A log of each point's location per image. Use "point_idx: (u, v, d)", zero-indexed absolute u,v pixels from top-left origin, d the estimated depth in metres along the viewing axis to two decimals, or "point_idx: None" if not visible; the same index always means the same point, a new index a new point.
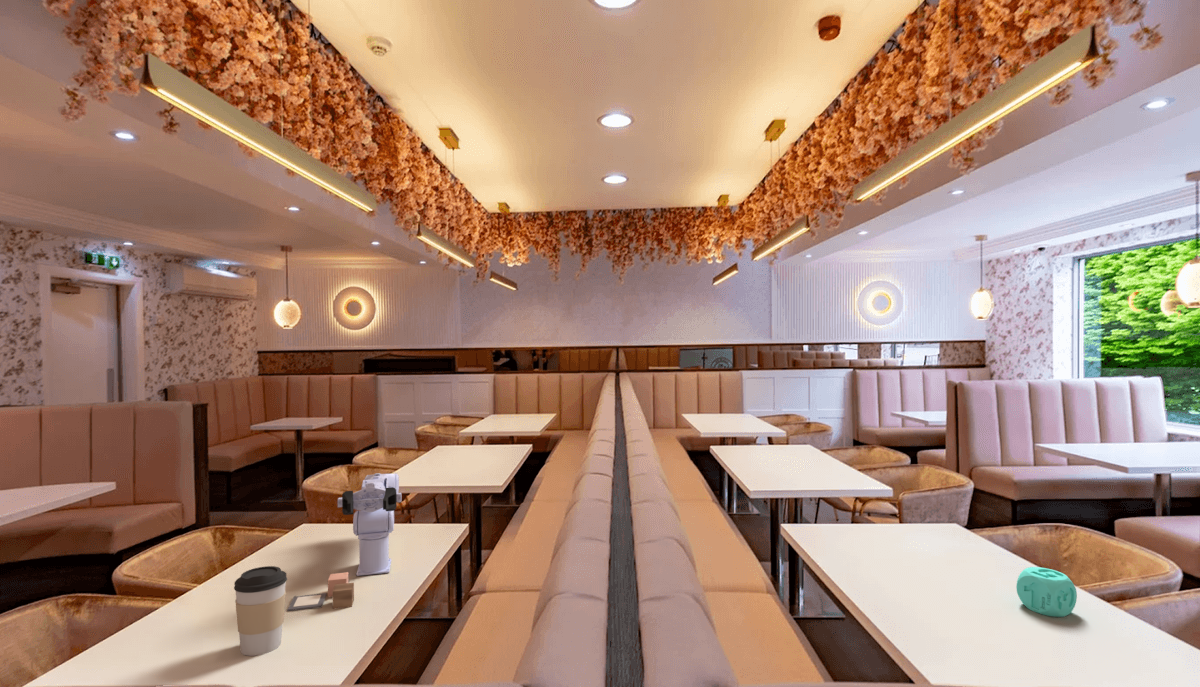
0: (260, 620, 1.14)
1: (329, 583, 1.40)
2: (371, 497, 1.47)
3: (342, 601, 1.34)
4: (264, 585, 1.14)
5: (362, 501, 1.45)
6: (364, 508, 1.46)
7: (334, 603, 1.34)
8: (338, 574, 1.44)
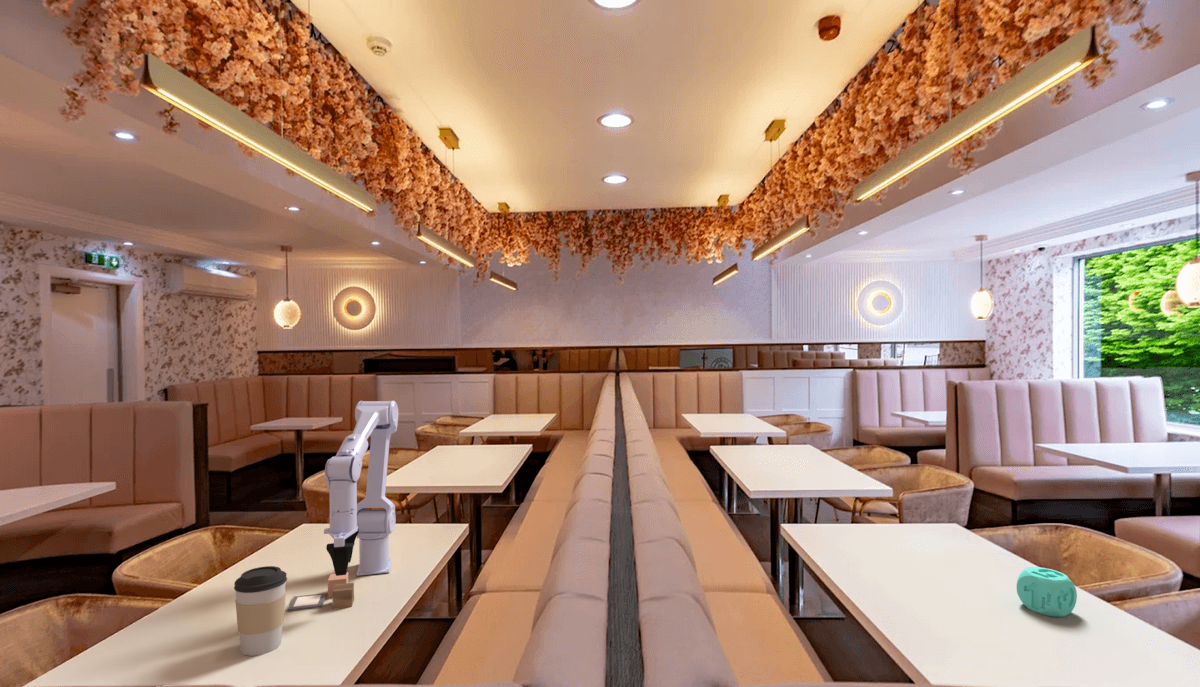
0: (260, 620, 1.14)
1: (329, 583, 1.40)
2: None
3: (342, 601, 1.34)
4: (264, 585, 1.14)
5: None
6: None
7: (334, 603, 1.34)
8: None
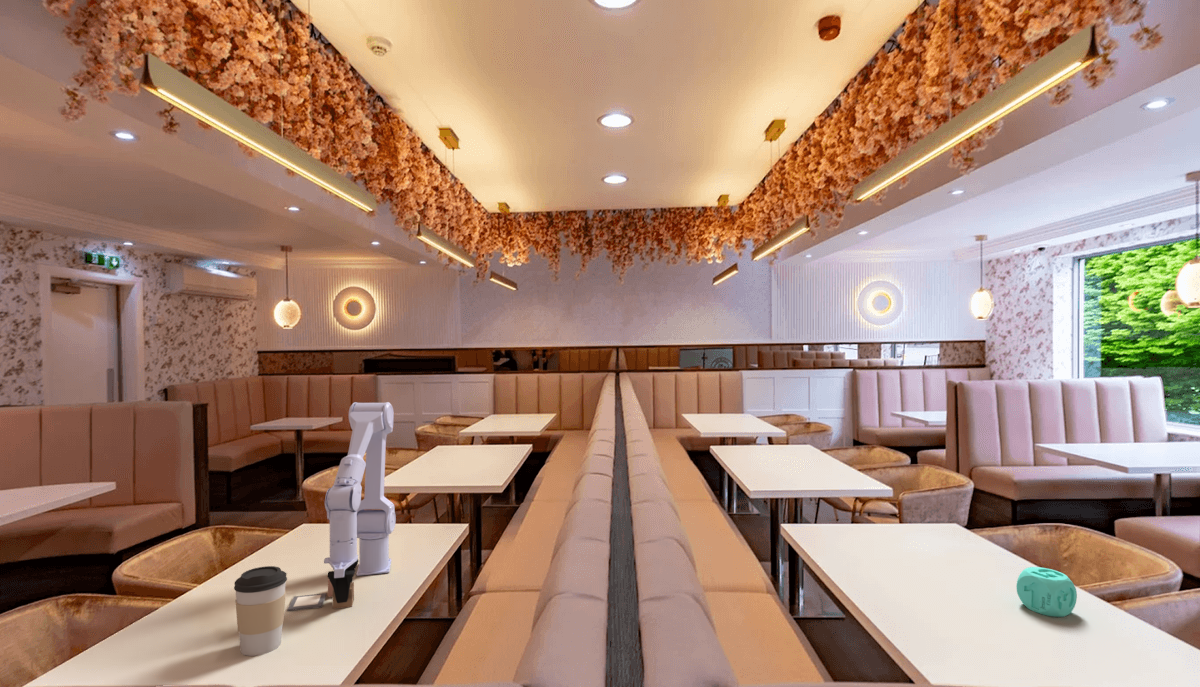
0: (260, 620, 1.14)
1: (329, 583, 1.40)
2: None
3: None
4: (264, 585, 1.14)
5: None
6: None
7: (334, 603, 1.34)
8: None
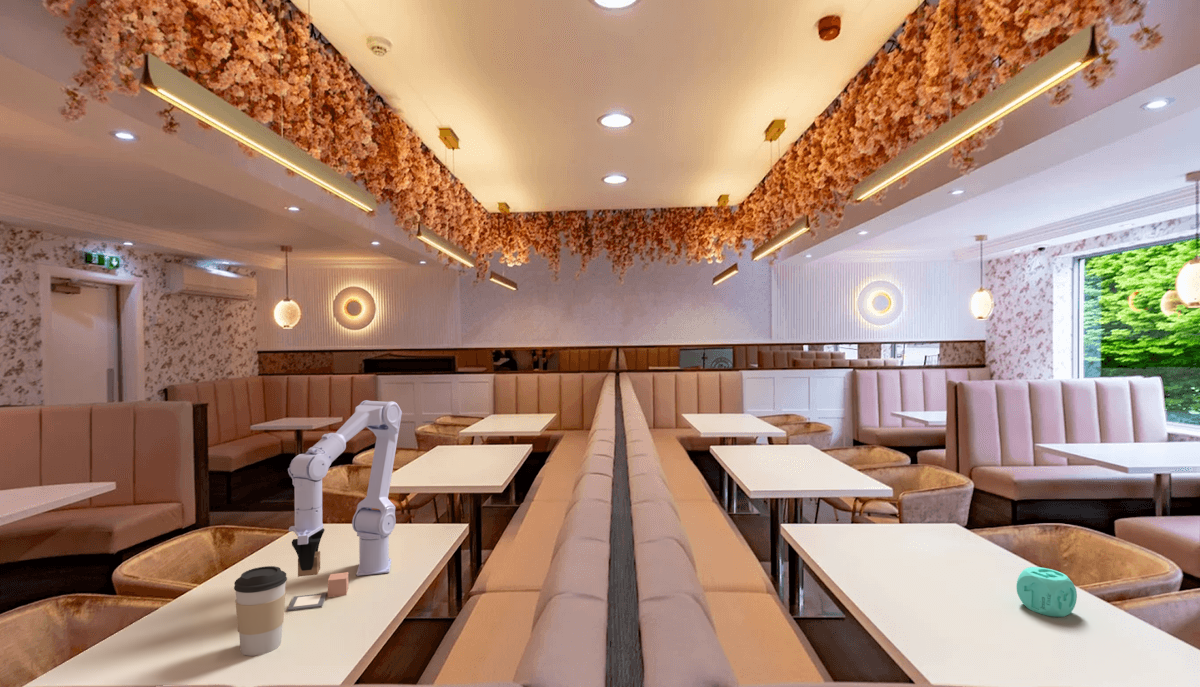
0: (260, 620, 1.14)
1: (329, 583, 1.40)
2: None
3: None
4: (264, 585, 1.14)
5: None
6: None
7: (299, 570, 1.34)
8: (338, 574, 1.44)
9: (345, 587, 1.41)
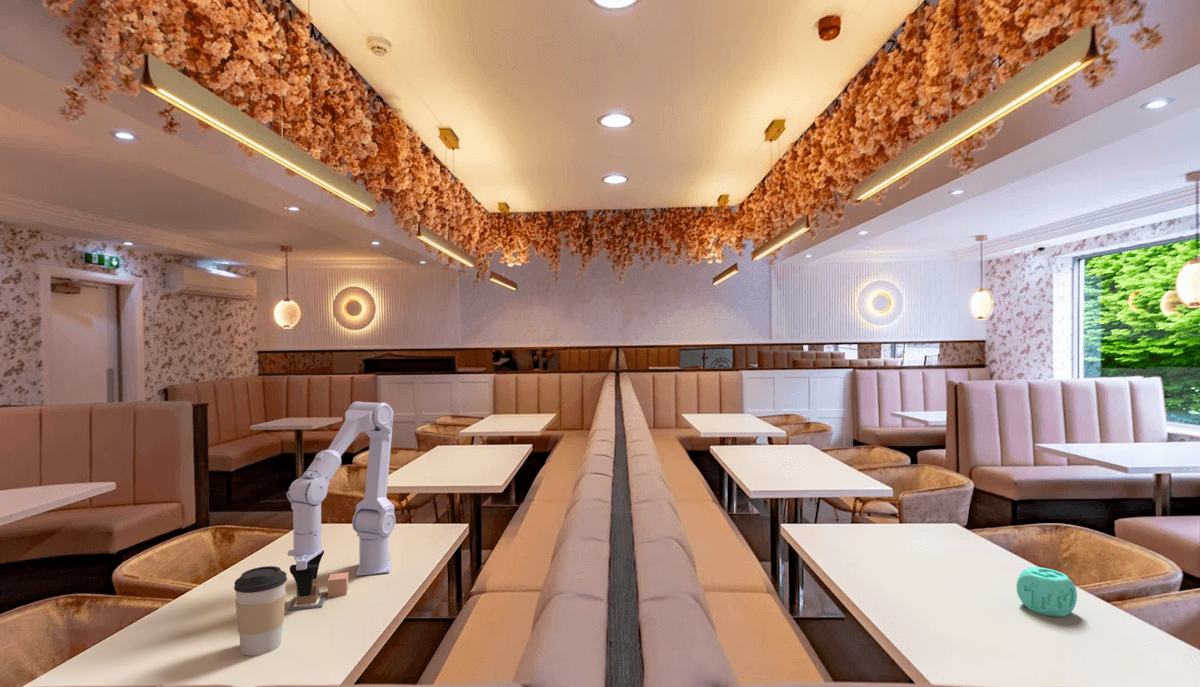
0: (260, 620, 1.14)
1: (329, 583, 1.40)
2: None
3: (306, 597, 1.35)
4: (264, 585, 1.14)
5: None
6: None
7: (298, 599, 1.35)
8: (338, 574, 1.44)
9: (345, 587, 1.41)
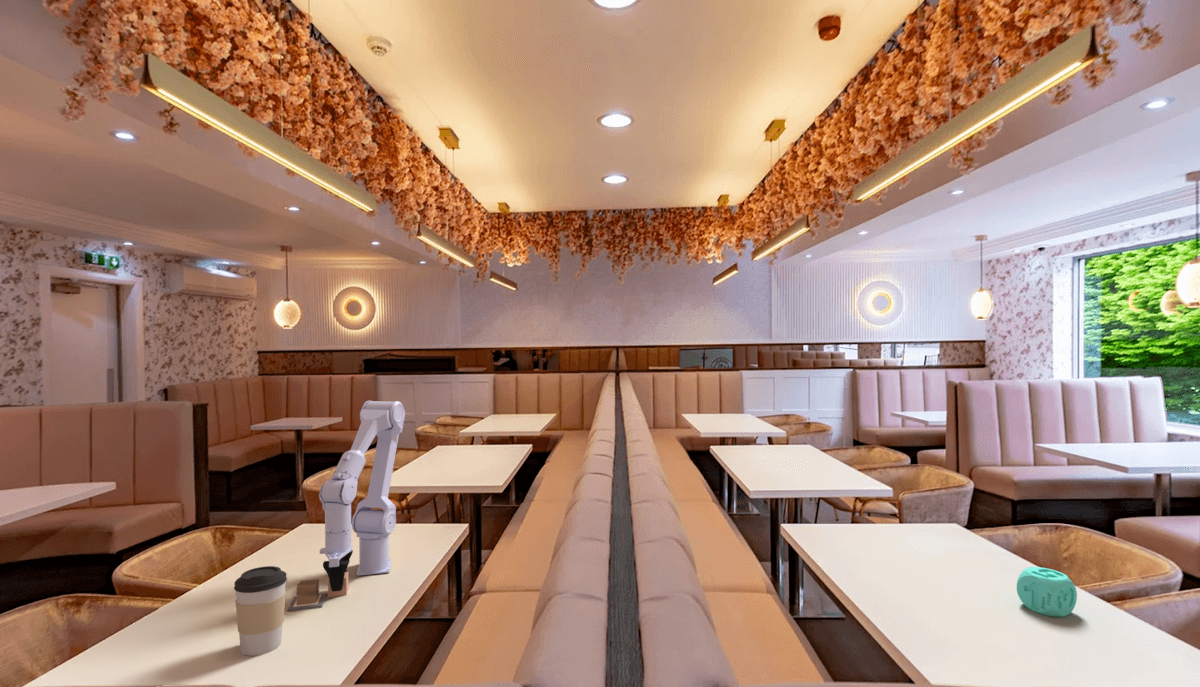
0: (260, 620, 1.14)
1: (329, 583, 1.40)
2: None
3: (306, 597, 1.35)
4: (264, 585, 1.14)
5: None
6: None
7: (298, 599, 1.35)
8: None
9: (345, 587, 1.41)
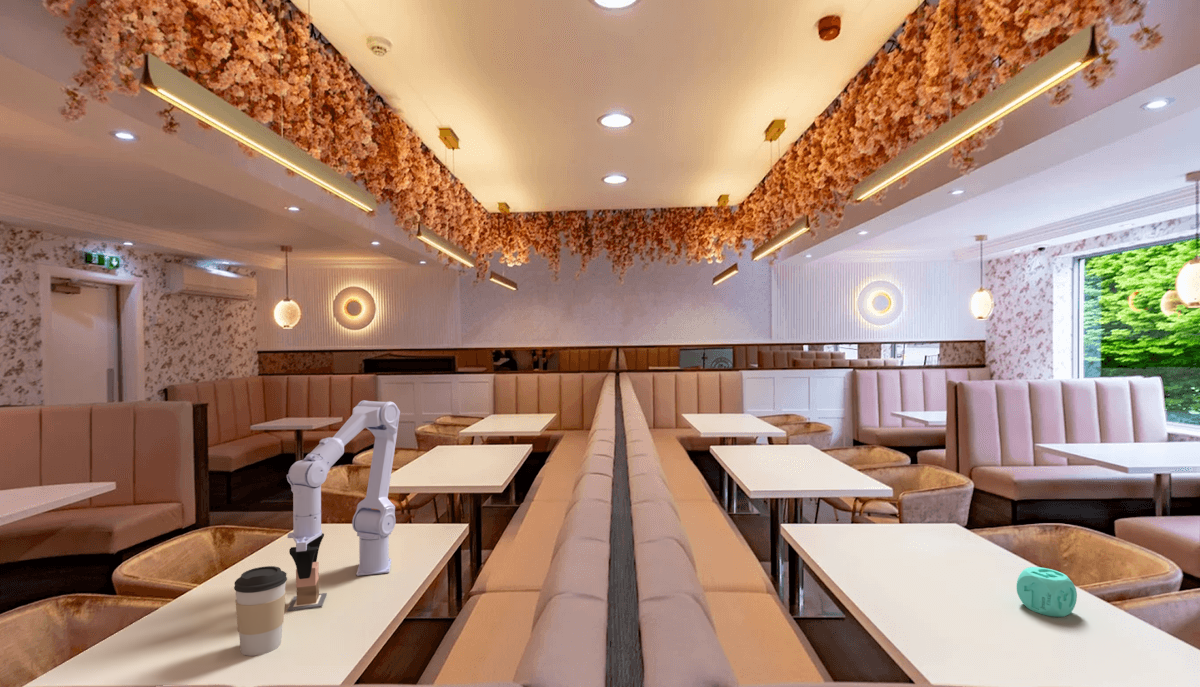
0: (260, 620, 1.14)
1: (297, 572, 1.34)
2: None
3: (306, 597, 1.35)
4: (264, 585, 1.14)
5: None
6: None
7: (298, 599, 1.35)
8: None
9: (314, 577, 1.35)
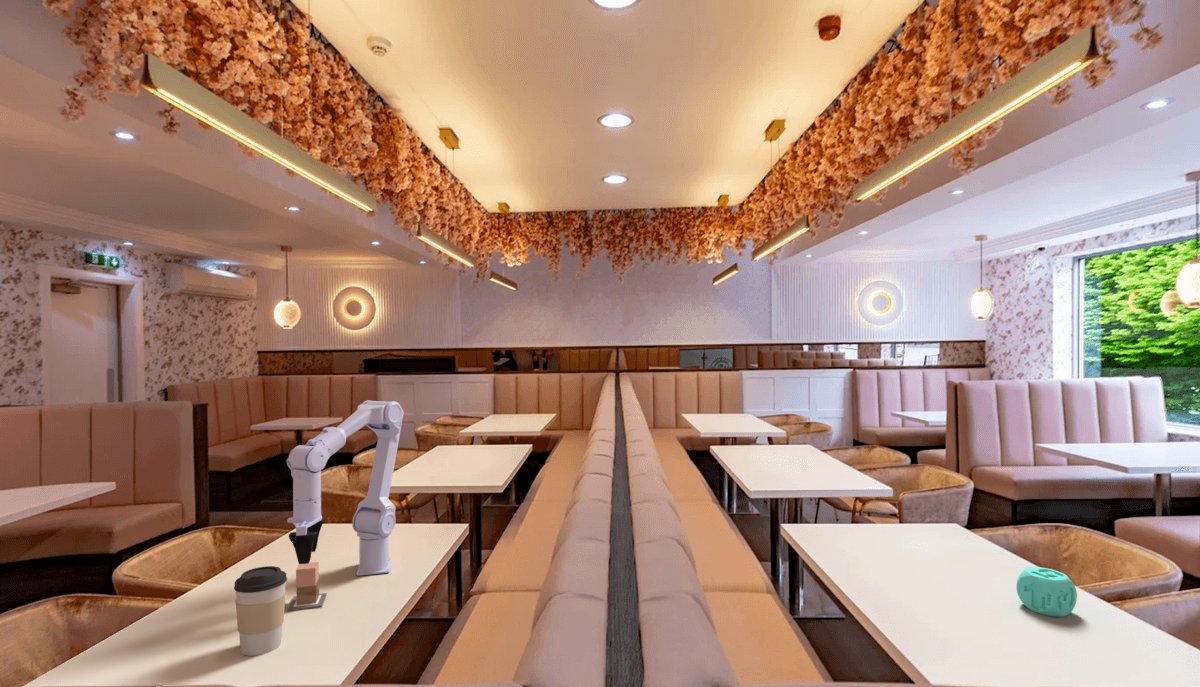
0: (260, 620, 1.14)
1: (297, 572, 1.34)
2: None
3: (306, 597, 1.35)
4: (264, 585, 1.14)
5: None
6: None
7: (298, 599, 1.35)
8: None
9: (314, 577, 1.35)
